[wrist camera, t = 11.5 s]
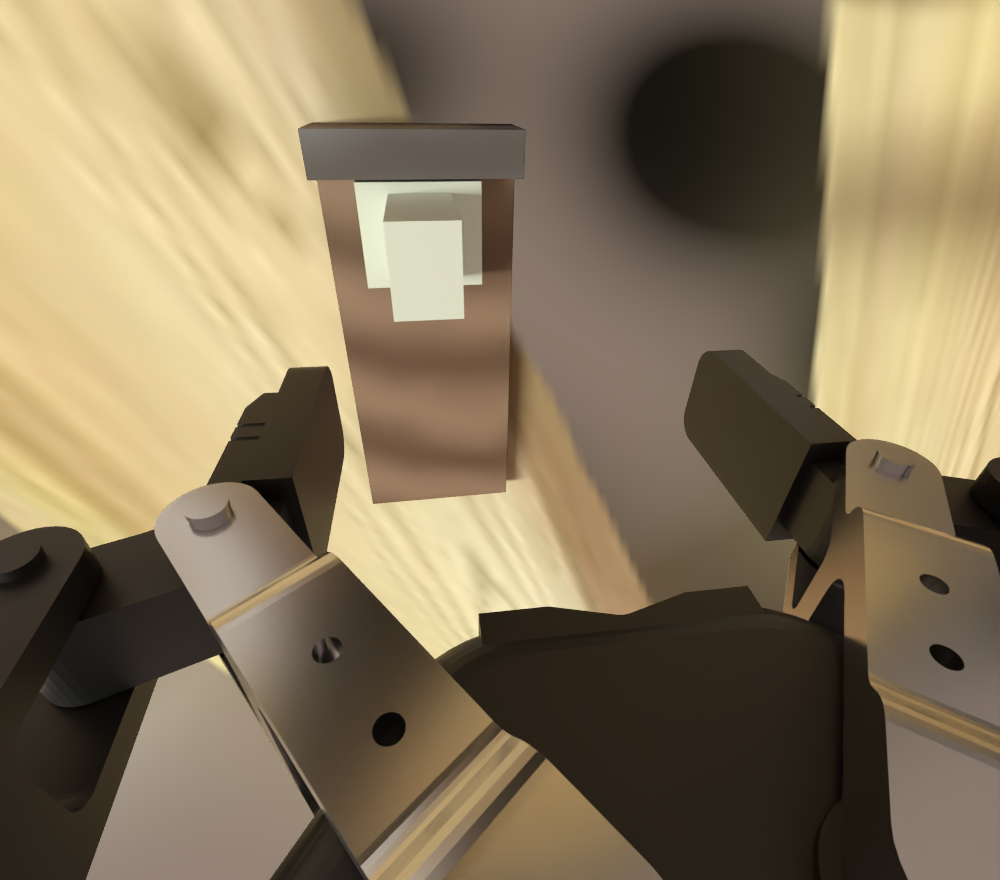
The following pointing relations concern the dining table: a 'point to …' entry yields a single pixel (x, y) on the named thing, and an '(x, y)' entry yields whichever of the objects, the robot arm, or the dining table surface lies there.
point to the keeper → (422, 243)
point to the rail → (429, 343)
